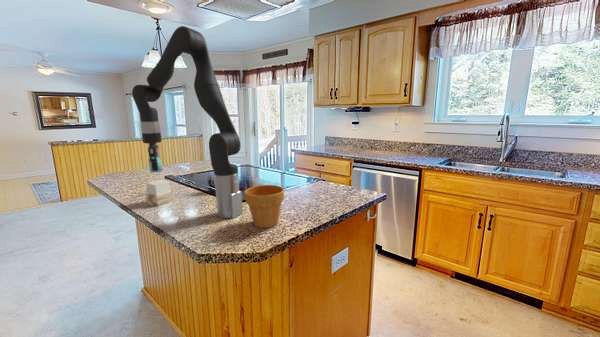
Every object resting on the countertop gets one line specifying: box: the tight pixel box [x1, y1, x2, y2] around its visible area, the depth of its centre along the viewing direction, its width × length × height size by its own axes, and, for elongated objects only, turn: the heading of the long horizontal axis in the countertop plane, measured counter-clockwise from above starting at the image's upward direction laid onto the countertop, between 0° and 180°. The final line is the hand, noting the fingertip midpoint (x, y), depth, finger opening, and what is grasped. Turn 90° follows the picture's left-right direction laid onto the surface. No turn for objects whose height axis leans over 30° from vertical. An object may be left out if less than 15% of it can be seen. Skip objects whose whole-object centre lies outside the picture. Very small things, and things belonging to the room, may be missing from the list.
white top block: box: [145, 179, 171, 196], centre depth 130 cm, size 7×7×5 cm
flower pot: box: [244, 184, 285, 229], centre depth 104 cm, size 14×14×13 cm
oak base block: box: [145, 191, 174, 208], centre depth 131 cm, size 8×8×5 cm
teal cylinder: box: [147, 156, 163, 173], centre depth 128 cm, size 5×5×6 cm
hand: (155, 169), depth 128 cm, fingers closed on teal cylinder, 5 cm apart
